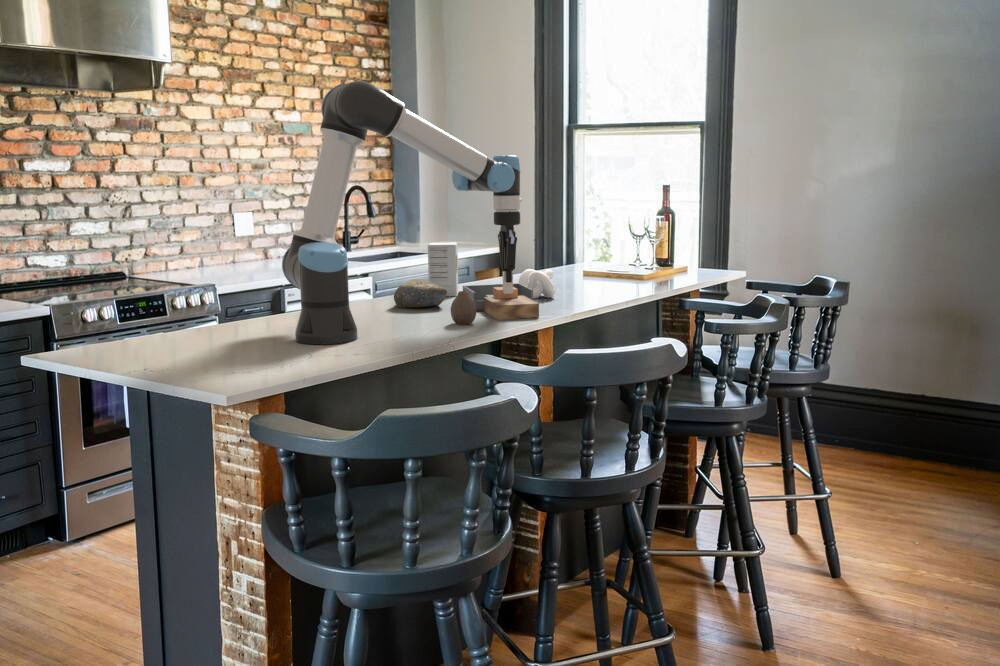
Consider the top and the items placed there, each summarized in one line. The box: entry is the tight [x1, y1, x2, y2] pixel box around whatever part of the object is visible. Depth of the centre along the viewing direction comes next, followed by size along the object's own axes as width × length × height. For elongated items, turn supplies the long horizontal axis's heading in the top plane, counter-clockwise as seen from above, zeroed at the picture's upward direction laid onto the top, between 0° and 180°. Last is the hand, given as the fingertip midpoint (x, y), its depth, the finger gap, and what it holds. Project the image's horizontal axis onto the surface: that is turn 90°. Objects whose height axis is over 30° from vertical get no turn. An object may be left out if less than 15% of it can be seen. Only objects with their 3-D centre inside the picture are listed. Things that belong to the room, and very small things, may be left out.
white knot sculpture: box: [518, 268, 556, 300], centre depth 290 cm, size 11×12×9 cm
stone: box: [393, 278, 447, 309], centre depth 275 cm, size 14×19×8 cm
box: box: [462, 282, 534, 312], centre depth 275 cm, size 18×15×6 cm
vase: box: [450, 290, 477, 326], centre depth 245 cm, size 7×7×9 cm
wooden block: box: [484, 295, 540, 321], centre depth 260 cm, size 12×16×4 cm
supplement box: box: [427, 241, 459, 297], centre depth 299 cm, size 10×9×17 cm
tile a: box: [493, 287, 518, 299], centre depth 266 cm, size 6×6×2 cm
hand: (507, 293), depth 263 cm, fingers closed
